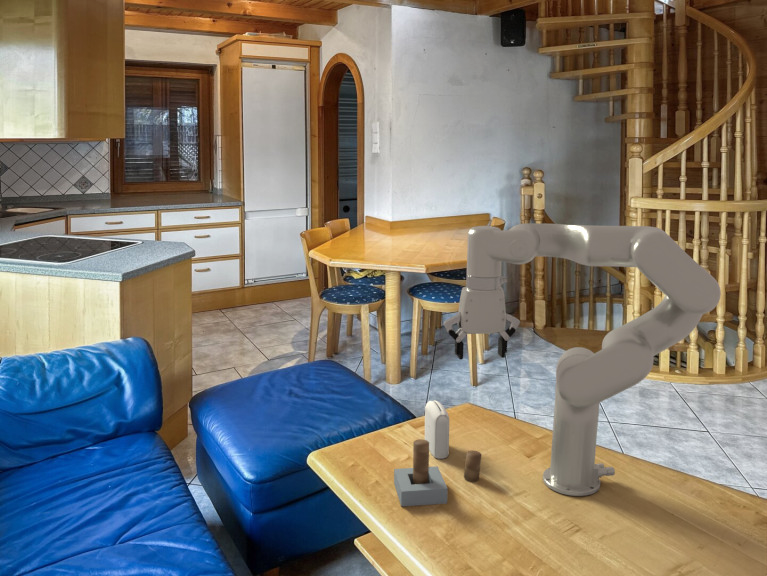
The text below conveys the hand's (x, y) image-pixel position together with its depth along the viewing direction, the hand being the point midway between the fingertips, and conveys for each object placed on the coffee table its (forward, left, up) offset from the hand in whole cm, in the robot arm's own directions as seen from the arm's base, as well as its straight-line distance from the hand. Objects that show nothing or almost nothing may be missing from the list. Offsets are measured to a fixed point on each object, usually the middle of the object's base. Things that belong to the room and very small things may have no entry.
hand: (480, 356), depth 154 cm
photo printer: (+7, -12, -29) cm, 32 cm away
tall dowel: (+15, +8, -28) cm, 33 cm away
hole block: (+15, +8, -28) cm, 33 cm away
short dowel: (+2, +3, -28) cm, 28 cm away
